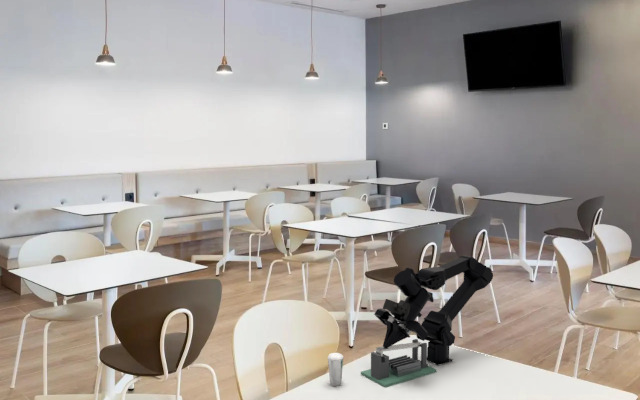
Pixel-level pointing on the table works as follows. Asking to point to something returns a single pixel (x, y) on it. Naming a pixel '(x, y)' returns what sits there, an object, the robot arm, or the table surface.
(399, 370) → the heatsink
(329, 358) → the milkshake
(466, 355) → the table surface
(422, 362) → the bracket
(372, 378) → the board
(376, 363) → the lug block
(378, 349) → the metal bar
